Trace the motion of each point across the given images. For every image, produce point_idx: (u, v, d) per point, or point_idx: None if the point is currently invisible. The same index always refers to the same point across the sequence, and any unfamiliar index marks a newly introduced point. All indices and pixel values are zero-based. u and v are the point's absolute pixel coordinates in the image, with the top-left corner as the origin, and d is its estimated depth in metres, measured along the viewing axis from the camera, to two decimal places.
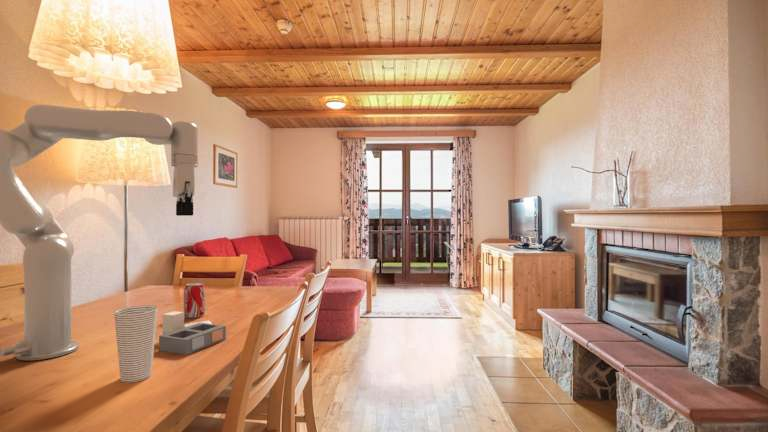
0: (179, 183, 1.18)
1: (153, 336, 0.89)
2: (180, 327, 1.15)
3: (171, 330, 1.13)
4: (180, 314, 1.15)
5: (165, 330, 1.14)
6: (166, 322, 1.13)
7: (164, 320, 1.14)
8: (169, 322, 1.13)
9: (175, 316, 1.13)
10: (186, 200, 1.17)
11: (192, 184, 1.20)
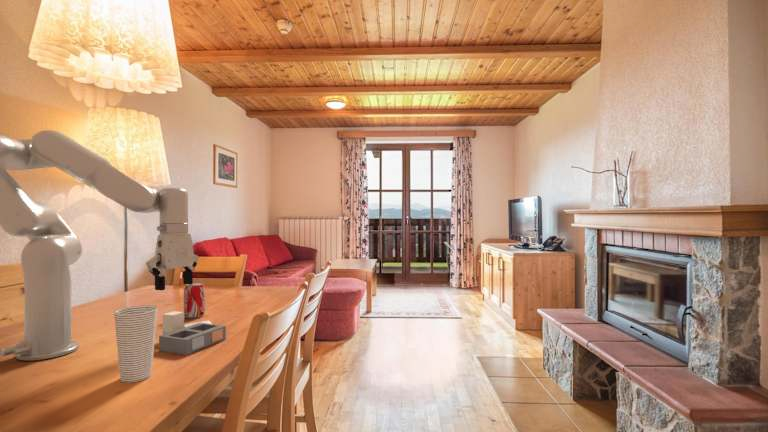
0: None
1: (153, 336, 0.89)
2: (180, 327, 1.15)
3: (171, 330, 1.13)
4: (180, 314, 1.15)
5: (165, 330, 1.14)
6: (166, 322, 1.13)
7: (164, 320, 1.14)
8: (169, 322, 1.13)
9: (175, 316, 1.13)
10: None
11: None
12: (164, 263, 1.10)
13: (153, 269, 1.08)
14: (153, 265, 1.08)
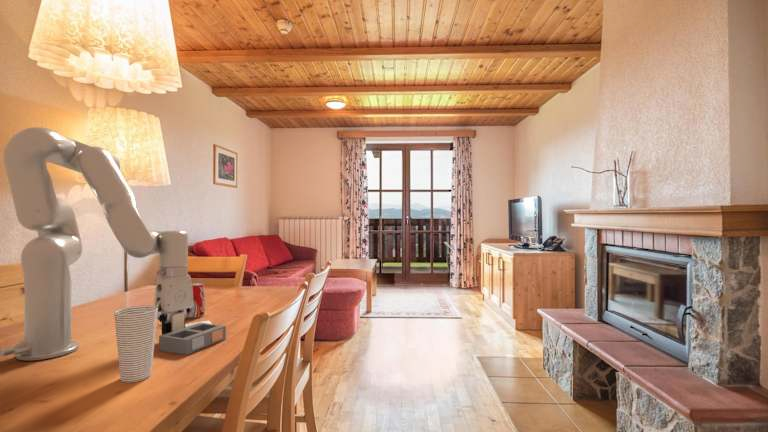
0: None
1: (153, 336, 0.89)
2: (180, 327, 1.15)
3: None
4: (180, 314, 1.15)
5: None
6: None
7: None
8: None
9: (175, 316, 1.13)
10: None
11: None
12: (163, 307, 1.10)
13: (160, 316, 1.10)
14: (158, 314, 1.10)
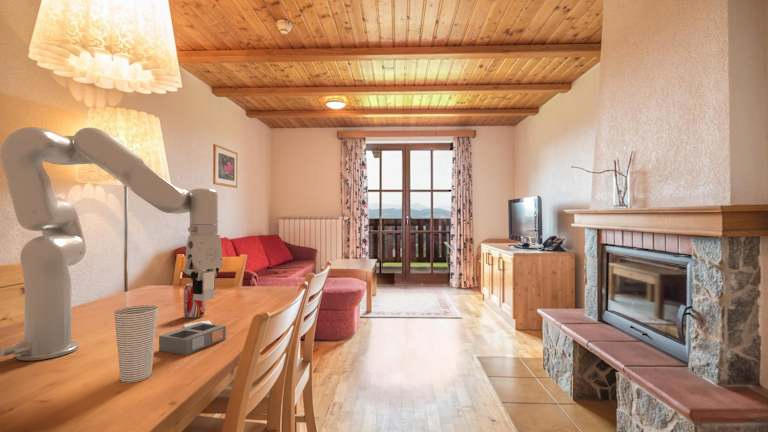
0: None
1: (153, 336, 0.89)
2: (211, 286, 1.14)
3: (202, 288, 1.12)
4: (211, 273, 1.14)
5: None
6: None
7: None
8: None
9: (206, 274, 1.13)
10: None
11: None
12: (195, 264, 1.09)
13: (192, 273, 1.10)
14: (190, 271, 1.09)
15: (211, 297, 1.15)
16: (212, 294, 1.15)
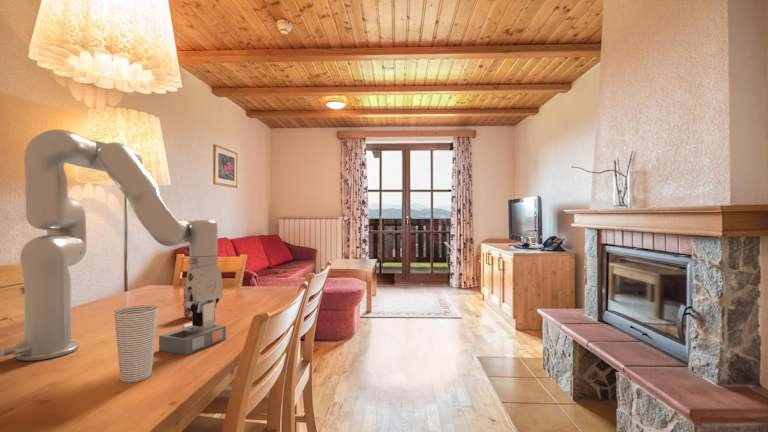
0: None
1: (153, 336, 0.89)
2: (211, 317, 1.14)
3: (202, 320, 1.12)
4: (210, 304, 1.14)
5: None
6: None
7: None
8: None
9: (206, 306, 1.13)
10: None
11: None
12: (195, 297, 1.09)
13: (192, 306, 1.09)
14: (190, 303, 1.09)
15: None
16: (212, 325, 1.15)
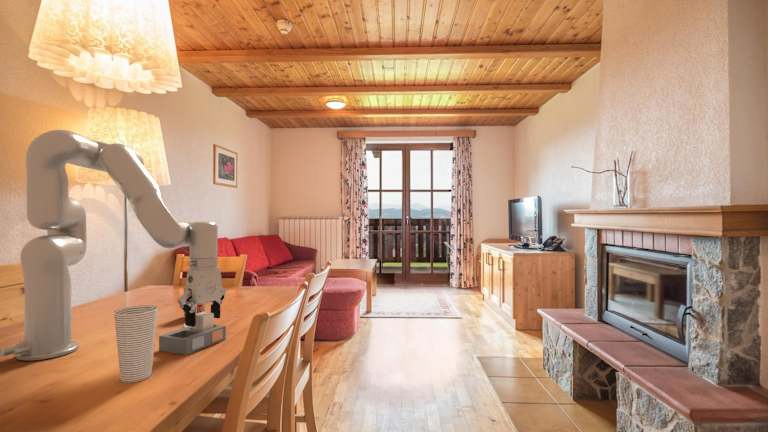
0: None
1: (153, 336, 0.89)
2: None
3: None
4: (210, 315, 1.14)
5: None
6: (196, 323, 1.13)
7: None
8: (200, 323, 1.12)
9: (205, 317, 1.13)
10: None
11: None
12: (195, 299, 1.09)
13: (184, 306, 1.07)
14: (184, 302, 1.07)
15: None
16: None
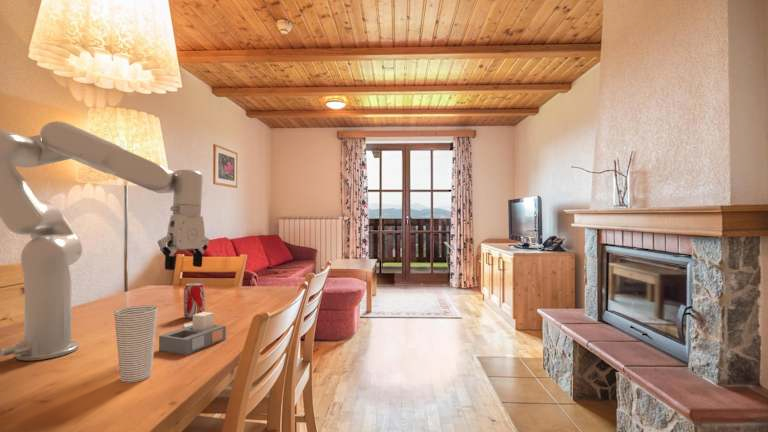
0: None
1: (153, 336, 0.89)
2: None
3: None
4: (210, 315, 1.14)
5: None
6: (196, 323, 1.13)
7: (194, 321, 1.13)
8: (200, 323, 1.12)
9: (205, 317, 1.13)
10: None
11: None
12: (175, 243, 1.11)
13: (164, 248, 1.09)
14: (164, 244, 1.09)
15: None
16: None
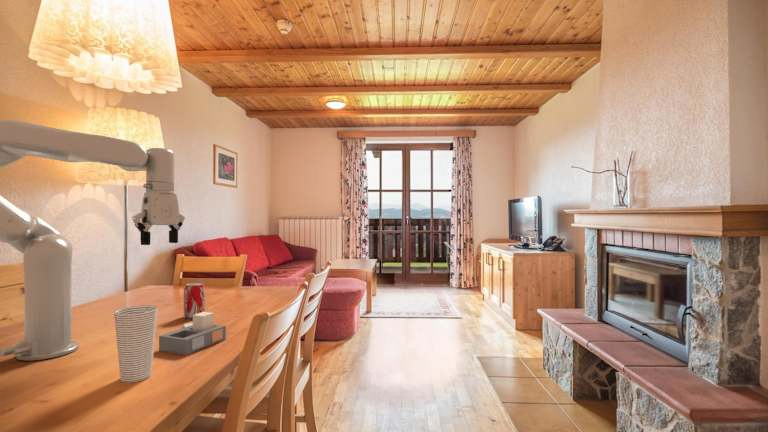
0: None
1: (153, 336, 0.89)
2: None
3: None
4: (210, 315, 1.14)
5: None
6: (196, 323, 1.13)
7: (194, 321, 1.13)
8: (200, 323, 1.12)
9: (205, 317, 1.13)
10: None
11: None
12: (149, 219, 1.14)
13: (139, 224, 1.13)
14: (139, 220, 1.13)
15: None
16: None
